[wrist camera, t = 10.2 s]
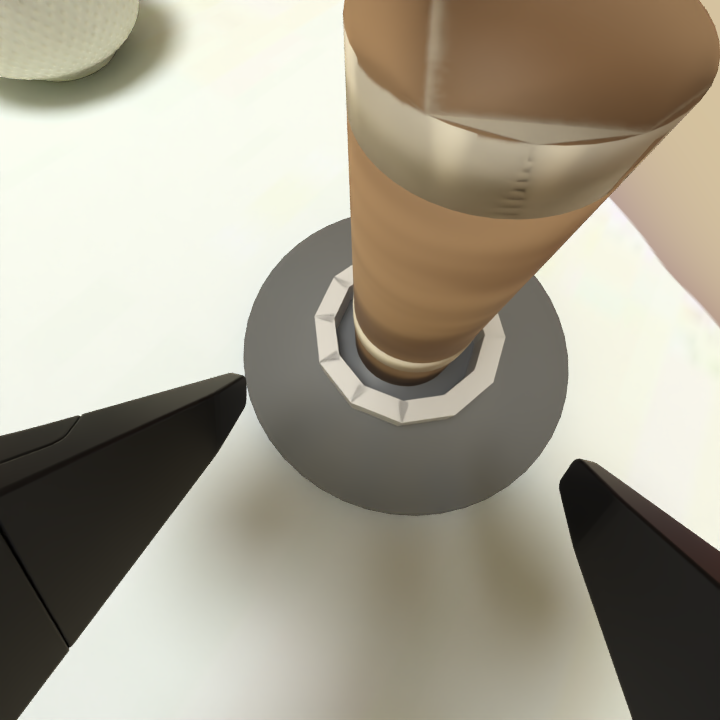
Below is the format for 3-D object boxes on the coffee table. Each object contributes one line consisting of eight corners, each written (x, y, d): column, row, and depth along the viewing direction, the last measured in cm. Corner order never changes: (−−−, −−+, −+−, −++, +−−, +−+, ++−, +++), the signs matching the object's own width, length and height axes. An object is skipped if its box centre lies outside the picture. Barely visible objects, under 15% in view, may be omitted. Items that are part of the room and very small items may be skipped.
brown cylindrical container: (398, 408, 16) (543, 223, 3) (334, 330, 17) (267, -7, 5) (475, 346, 17) (800, 31, 4) (409, 277, 18) (515, -110, 6)
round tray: (519, 575, 14) (551, 598, 12) (190, 430, 16) (161, 425, 14) (580, 271, 19) (610, 245, 17) (325, 191, 21) (320, 158, 19)
